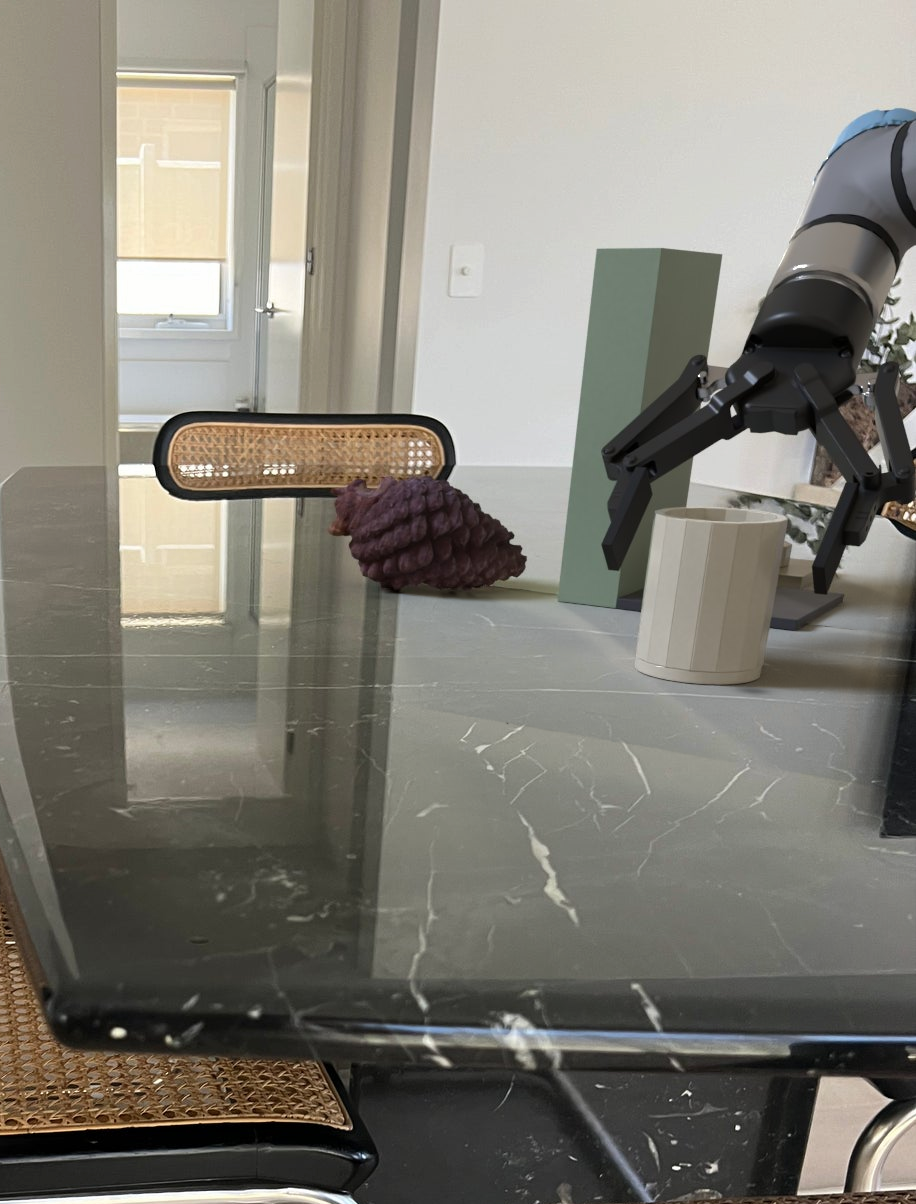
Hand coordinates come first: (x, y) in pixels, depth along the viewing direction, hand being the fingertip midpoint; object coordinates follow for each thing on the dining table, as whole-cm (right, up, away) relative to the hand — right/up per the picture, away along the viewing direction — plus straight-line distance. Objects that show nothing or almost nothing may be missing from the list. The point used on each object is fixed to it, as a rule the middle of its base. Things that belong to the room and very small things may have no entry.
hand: (710, 569), depth 95 cm
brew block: (+17, +10, +38) cm, 42 cm away
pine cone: (-14, +6, +30) cm, 34 cm away
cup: (0, -6, +2) cm, 7 cm away
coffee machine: (+7, +4, +26) cm, 27 cm away
